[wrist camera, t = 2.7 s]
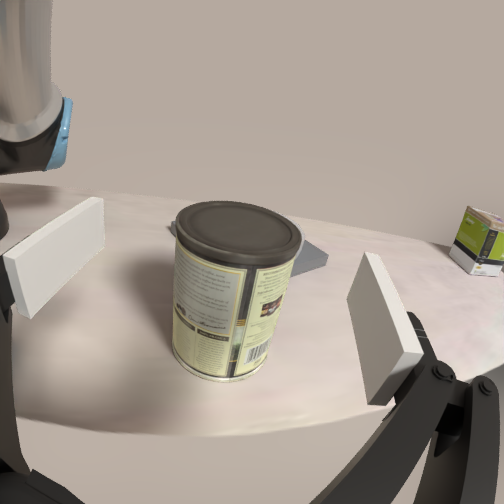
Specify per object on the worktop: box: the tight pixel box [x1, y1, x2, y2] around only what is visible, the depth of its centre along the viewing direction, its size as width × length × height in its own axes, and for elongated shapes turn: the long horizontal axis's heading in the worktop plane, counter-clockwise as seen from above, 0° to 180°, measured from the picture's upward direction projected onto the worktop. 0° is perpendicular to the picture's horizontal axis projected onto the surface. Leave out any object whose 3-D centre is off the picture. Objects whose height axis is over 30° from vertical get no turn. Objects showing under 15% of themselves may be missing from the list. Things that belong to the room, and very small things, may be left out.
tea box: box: [449, 206, 504, 276], centre depth 62 cm, size 15×10×15 cm, turn 97°
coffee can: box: [172, 201, 302, 382], centre depth 28 cm, size 10×10×14 cm
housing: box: [171, 209, 329, 277], centre depth 50 cm, size 19×19×4 cm
